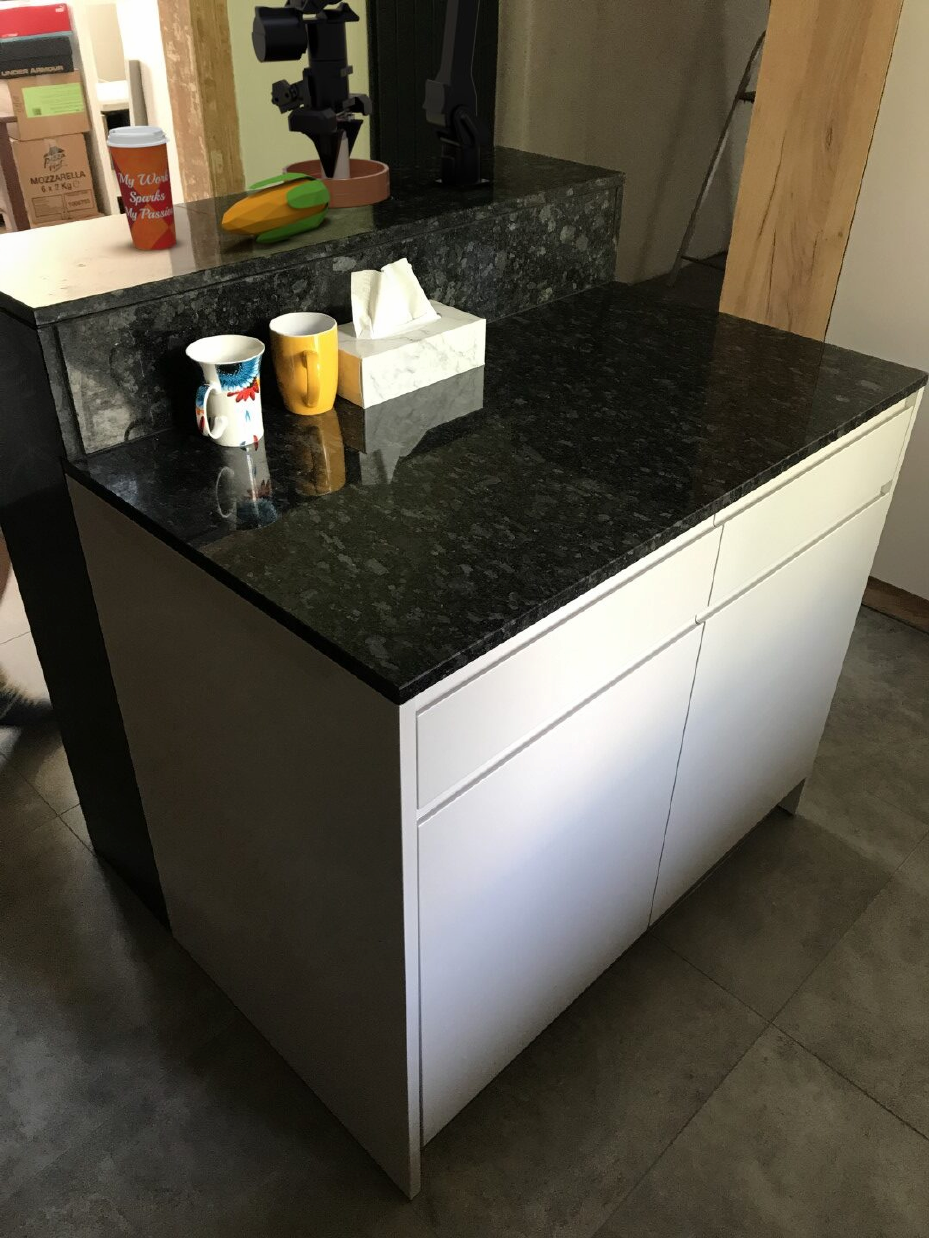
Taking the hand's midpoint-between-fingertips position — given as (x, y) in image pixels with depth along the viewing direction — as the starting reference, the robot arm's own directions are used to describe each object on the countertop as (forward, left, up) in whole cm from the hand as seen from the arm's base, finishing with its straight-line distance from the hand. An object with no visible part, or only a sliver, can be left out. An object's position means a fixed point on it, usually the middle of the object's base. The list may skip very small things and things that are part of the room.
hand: (335, 174), depth 153 cm
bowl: (0, 0, -4) cm, 4 cm away
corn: (+20, +11, -4) cm, 23 cm away
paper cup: (+34, +2, -4) cm, 34 cm away
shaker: (0, 0, -2) cm, 2 cm away
